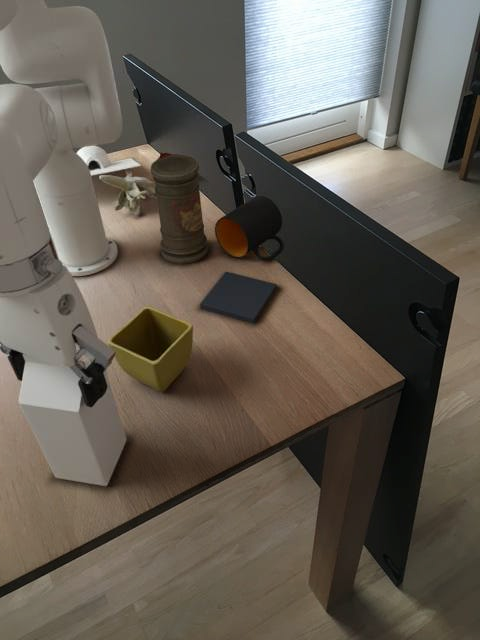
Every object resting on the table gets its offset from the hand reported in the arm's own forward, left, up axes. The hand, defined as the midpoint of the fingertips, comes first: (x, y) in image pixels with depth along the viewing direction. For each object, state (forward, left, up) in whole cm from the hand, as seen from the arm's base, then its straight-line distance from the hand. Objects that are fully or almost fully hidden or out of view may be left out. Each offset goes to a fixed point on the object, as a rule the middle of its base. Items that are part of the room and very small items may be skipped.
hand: (62, 384), depth 60 cm
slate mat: (+4, +37, -15) cm, 40 cm away
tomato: (-29, +71, -8) cm, 77 cm away
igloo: (-45, +63, -12) cm, 78 cm away
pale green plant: (-32, +58, -15) cm, 68 cm away
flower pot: (+1, +16, -15) cm, 22 cm away
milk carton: (0, 0, -15) cm, 15 cm away
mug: (+2, +57, -12) cm, 59 cm away
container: (-12, +46, -15) cm, 50 cm away
